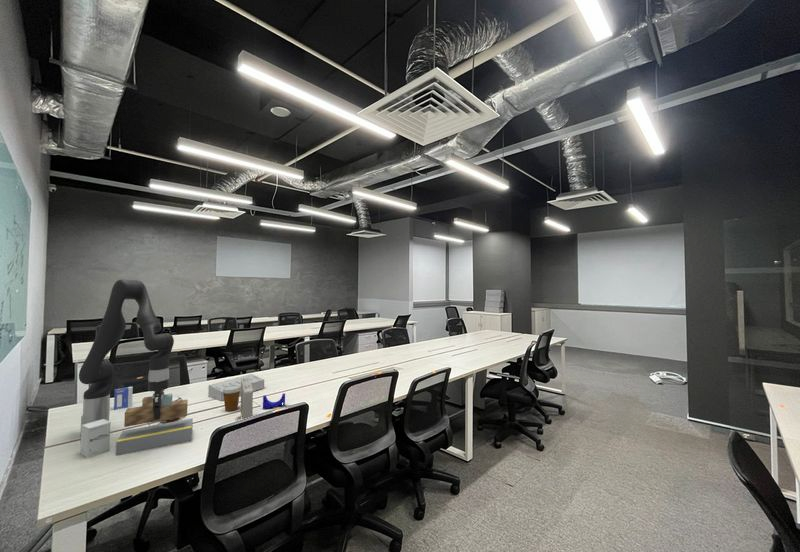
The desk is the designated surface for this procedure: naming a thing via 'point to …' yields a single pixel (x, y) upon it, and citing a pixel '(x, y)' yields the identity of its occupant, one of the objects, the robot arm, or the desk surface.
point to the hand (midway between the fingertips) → (157, 416)
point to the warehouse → (217, 388)
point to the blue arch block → (271, 404)
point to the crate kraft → (147, 402)
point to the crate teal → (167, 400)
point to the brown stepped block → (147, 415)
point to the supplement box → (95, 438)
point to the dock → (154, 436)
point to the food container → (171, 419)
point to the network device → (246, 399)
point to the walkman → (123, 398)
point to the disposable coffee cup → (231, 397)
